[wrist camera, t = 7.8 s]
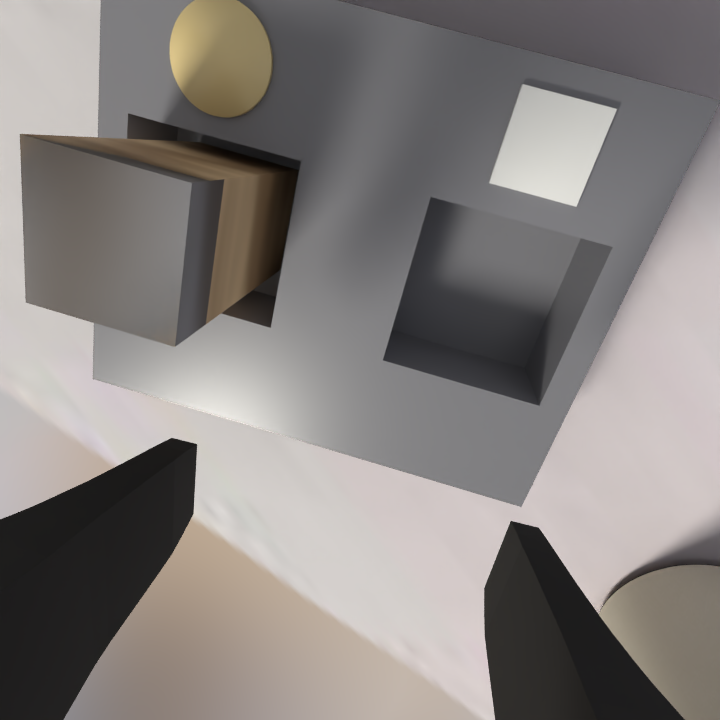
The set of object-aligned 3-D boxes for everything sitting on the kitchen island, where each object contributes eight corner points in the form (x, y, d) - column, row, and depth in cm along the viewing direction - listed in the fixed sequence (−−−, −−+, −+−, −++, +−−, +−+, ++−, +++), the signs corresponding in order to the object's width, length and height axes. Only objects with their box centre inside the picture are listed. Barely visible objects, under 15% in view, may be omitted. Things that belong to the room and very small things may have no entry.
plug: (298, 170, 17) (191, 182, 10) (280, 269, 18) (175, 346, 11) (199, 142, 17) (19, 134, 10) (188, 243, 19) (25, 302, 11)
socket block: (655, 112, 16) (725, 100, 12) (507, 445, 21) (522, 510, 17) (177, -14, 16) (97, -66, 12) (151, 340, 22) (89, 381, 18)
